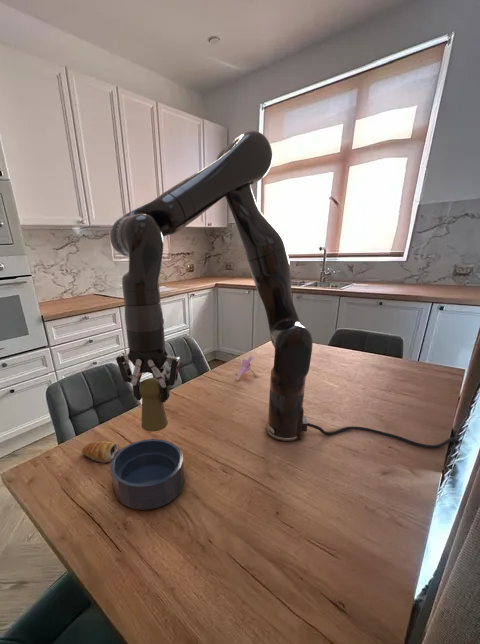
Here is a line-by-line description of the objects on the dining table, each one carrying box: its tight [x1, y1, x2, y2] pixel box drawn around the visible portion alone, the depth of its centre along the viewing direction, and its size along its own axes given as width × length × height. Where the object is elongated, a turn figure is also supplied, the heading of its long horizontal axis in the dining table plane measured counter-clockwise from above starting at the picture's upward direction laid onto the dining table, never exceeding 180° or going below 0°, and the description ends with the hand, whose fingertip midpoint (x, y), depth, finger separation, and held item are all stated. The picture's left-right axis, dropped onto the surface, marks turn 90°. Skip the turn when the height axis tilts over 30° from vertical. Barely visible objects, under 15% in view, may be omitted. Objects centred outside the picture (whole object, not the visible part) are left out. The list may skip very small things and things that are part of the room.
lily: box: [236, 353, 257, 381], centre depth 128 cm, size 12×12×10 cm
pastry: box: [81, 440, 119, 463], centre depth 86 cm, size 9×7×4 cm
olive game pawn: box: [139, 377, 169, 433], centre depth 69 cm, size 6×6×11 cm
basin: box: [109, 438, 186, 511], centre depth 74 cm, size 17×17×7 cm
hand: (152, 399), depth 69 cm, fingers closed on olive game pawn, 5 cm apart
